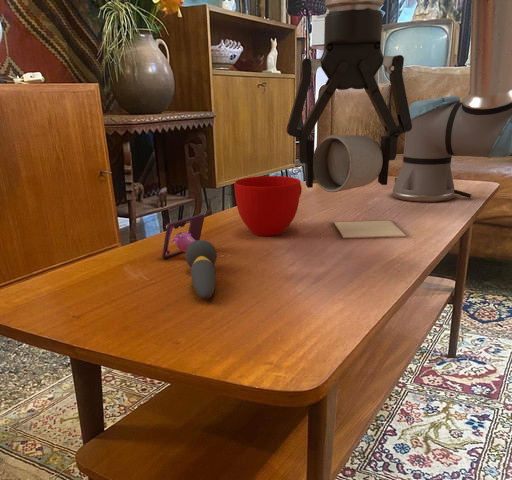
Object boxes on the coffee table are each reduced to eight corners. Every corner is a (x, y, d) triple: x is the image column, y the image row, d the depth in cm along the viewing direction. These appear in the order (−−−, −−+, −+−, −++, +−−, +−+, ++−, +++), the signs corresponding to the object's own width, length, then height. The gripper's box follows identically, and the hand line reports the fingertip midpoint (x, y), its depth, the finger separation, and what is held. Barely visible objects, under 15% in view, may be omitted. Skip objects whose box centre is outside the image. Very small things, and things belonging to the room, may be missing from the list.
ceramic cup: (323, 226, 108) (325, 176, 104) (271, 244, 97) (271, 189, 93) (276, 217, 116) (276, 171, 112) (223, 233, 105) (220, 182, 101)
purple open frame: (200, 211, 93) (164, 221, 87) (221, 224, 91) (186, 236, 85) (193, 244, 97) (158, 256, 91) (214, 257, 95) (179, 270, 89)
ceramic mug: (385, 187, 77) (389, 132, 74) (349, 195, 72) (352, 137, 69) (331, 180, 84) (332, 129, 81) (295, 187, 80) (295, 134, 76)
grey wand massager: (233, 302, 72) (231, 267, 69) (197, 306, 71) (194, 271, 68) (213, 260, 89) (211, 232, 87) (184, 263, 88) (181, 234, 86)
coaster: (390, 222, 111) (390, 220, 110) (405, 236, 100) (405, 235, 100) (334, 223, 110) (334, 222, 110) (343, 238, 100) (343, 236, 100)
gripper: (267, 10, 64) (270, 192, 74) (451, 3, 64) (429, 186, 74) (265, 16, 71) (268, 182, 81) (431, 10, 71) (414, 177, 81)
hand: (345, 184), depth 78 cm, fingers closed on ceramic mug, 10 cm apart
